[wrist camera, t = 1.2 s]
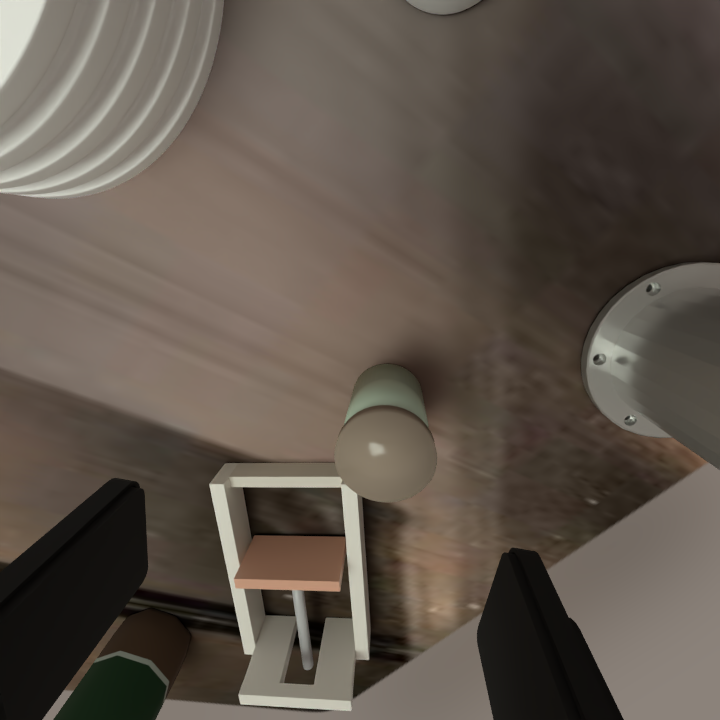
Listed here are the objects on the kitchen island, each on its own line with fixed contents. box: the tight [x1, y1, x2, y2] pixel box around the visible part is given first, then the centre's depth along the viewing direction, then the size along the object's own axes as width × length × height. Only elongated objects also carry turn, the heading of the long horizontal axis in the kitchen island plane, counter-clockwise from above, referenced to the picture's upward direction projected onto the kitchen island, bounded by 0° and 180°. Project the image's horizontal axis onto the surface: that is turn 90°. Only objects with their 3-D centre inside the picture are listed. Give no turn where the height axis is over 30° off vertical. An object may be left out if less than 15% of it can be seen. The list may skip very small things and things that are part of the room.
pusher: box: [234, 535, 346, 670], centre depth 34 cm, size 9×13×5 cm, turn 3°
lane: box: [209, 463, 371, 711], centre depth 32 cm, size 12×19×7 cm, turn 3°
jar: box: [334, 364, 437, 502], centre depth 25 cm, size 6×6×9 cm
